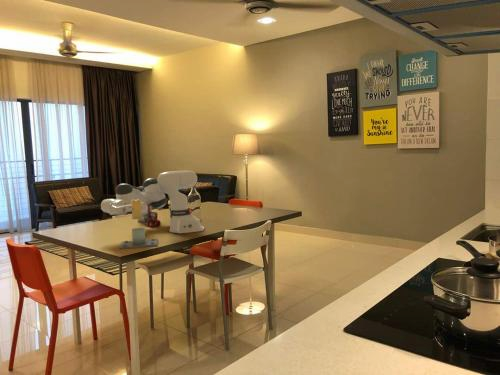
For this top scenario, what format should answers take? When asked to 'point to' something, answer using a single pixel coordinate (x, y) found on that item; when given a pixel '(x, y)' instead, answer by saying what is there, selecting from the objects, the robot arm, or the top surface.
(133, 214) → the round brick
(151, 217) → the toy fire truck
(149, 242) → the tower base
